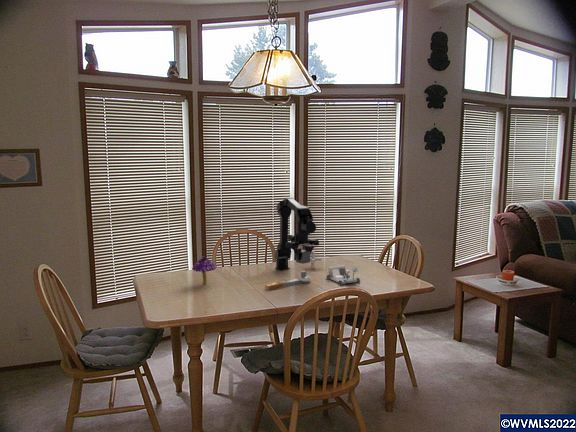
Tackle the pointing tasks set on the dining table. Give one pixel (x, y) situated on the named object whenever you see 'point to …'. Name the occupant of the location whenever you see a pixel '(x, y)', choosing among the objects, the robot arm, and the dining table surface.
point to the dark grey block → (304, 257)
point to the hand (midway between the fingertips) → (303, 259)
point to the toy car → (342, 275)
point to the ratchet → (289, 282)
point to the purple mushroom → (204, 267)
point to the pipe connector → (313, 259)
